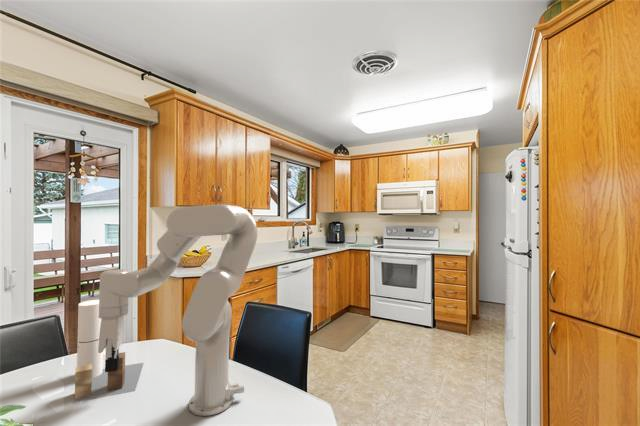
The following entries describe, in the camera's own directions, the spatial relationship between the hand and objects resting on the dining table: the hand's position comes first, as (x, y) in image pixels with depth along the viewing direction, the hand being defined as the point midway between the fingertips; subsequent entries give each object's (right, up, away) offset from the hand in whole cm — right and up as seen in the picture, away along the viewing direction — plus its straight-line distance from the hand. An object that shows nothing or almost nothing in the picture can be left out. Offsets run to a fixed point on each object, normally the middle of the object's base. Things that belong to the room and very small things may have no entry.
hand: (111, 370), depth 93 cm
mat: (-6, -8, +9) cm, 14 cm away
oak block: (-10, -8, +1) cm, 13 cm away
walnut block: (-2, -8, +5) cm, 10 cm away
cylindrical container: (-16, -8, +12) cm, 22 cm away
